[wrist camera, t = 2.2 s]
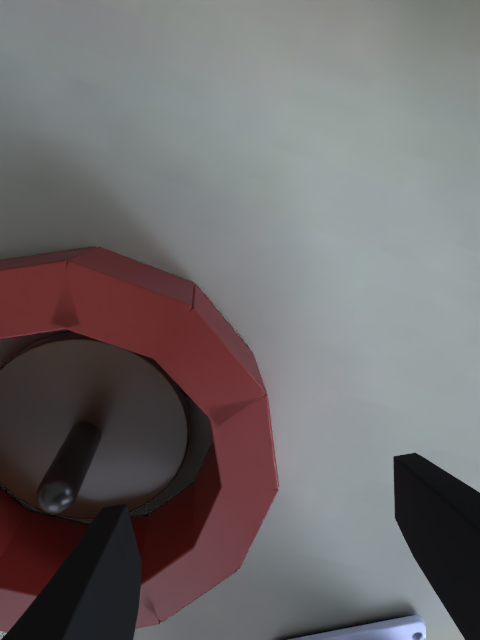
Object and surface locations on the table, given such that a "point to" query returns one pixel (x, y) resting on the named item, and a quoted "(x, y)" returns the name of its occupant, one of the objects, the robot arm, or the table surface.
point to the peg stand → (88, 426)
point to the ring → (194, 379)
